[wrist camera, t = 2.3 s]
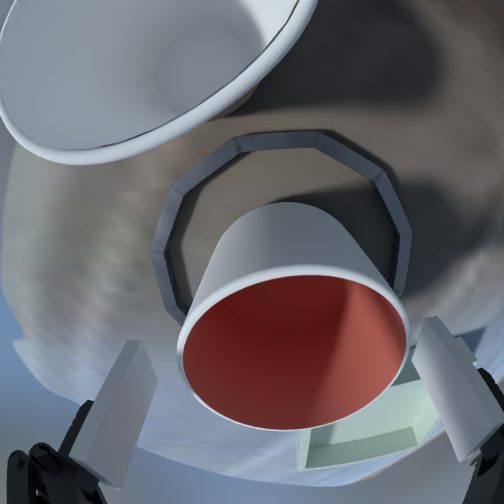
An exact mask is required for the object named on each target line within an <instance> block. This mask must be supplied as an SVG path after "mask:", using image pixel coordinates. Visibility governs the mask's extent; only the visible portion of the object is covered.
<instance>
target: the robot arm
mask: <svg viewBox="0 0 504 504" xmlns="http://www.w3.org/2000/svg"><path fill="white" fill-rule="evenodd" d="M411 361H412V362H413V364H414V366H415V368H416V370H417V372H418V374H419V376H420V378H421V379H422V381H423V383H424V385H425V387H426V389H427V391H428V393H429V395H430V397H431V399H432V401H433V403H434V406H435V408H436V410H437V412H438V414H439V416H440V418H441V420H442V423H443V425H444V427H445V429H446V432H447V434H448V436H449V439H450V441H451V443H452V446H453V448H454V451H455V453H456V456H457V458H458V460H459V462H461V461H463V460H465V459H467V458H469V457H471V456H472V455H474V454H475V453H476V451H478V450H479V449H480V450H481V453H480V454H479V455H478V456H477V457H476V458H475V459H474V460H473V461H472V462H471V464H470V465H471V466H472V465H473V464H474V463H475V462H476V461H477V463H476V464H475V470H474V473H473V477H472V480H471V482H470V485H469V488H468V491H467V493H466V496H465V498H464V501H463V503H462V504H504V395H503V393H502V392H501V390H499V387H498V385H497V384H495V381H494V379H493V378H492V376H491V375H490V373H488V372H487V371H486V370H484V369H483V368H482V367H481V368H479V369H476V368H475V366H474V365H473V363H472V362H471V360H470V359H469V357H468V356H467V355H466V353H465V352H464V350H463V349H462V348H461V346H460V345H459V344H458V342H457V341H456V340H455V338H454V337H453V336H452V334H451V333H450V332H449V330H448V329H447V328H446V326H445V325H444V324H443V323H442V321H441V320H440V319H439V318H438V316H434V317H429V318H425V319H424V323H423V326H422V330H421V333H420V336H419V339H418V342H417V345H416V348H415V351H414V354H413V357H412V360H411ZM158 381H159V380H158V378H157V375H156V373H155V371H154V369H153V367H152V365H151V362H150V360H149V358H148V355H147V353H146V351H145V348H144V346H143V344H142V341H134V340H127V342H126V344H125V345H124V347H123V349H122V351H121V353H120V354H119V356H118V358H117V360H116V362H115V363H114V365H113V367H112V369H111V371H110V373H109V374H108V376H107V378H106V380H105V382H104V384H103V386H102V388H101V389H100V391H99V393H98V395H97V397H96V399H95V401H91V400H87V401H86V402H85V403H84V404H83V405H82V406H81V407H80V409H79V410H78V412H77V414H76V416H75V417H76V418H75V419H74V420H73V422H72V426H70V428H69V430H68V432H67V434H66V436H65V439H64V440H63V442H62V444H61V447H60V449H59V450H58V452H56V451H55V450H54V449H52V447H51V446H49V445H48V444H46V443H43V442H42V443H37V444H35V445H34V446H33V447H32V448H31V449H30V451H29V454H28V455H27V454H25V453H24V452H23V451H21V450H16V451H14V452H12V453H11V455H10V456H9V459H8V467H7V504H107V502H106V500H105V498H104V496H103V493H102V491H101V489H100V487H99V486H98V482H99V481H101V482H102V483H103V484H105V485H106V486H109V487H112V488H115V489H119V490H122V488H123V485H124V481H125V478H126V475H127V472H128V469H129V465H130V462H131V459H132V456H133V453H134V450H135V447H136V444H137V441H138V438H139V435H140V432H141V429H142V426H143V423H144V420H145V417H146V414H147V411H148V409H149V406H150V403H151V400H152V397H153V394H154V392H155V389H156V386H157V383H158ZM36 490H37V491H38V495H36Z"/></svg>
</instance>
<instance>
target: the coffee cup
mask: <svg viewBox="0 0 504 504" xmlns="http://www.w3.org/2000/svg"><path fill="white" fill-rule="evenodd" d="M317 2H318V0H15V2H14V3H13V5H12V7H11V9H10V11H9V13H8V16H7V18H6V20H5V23H4V26H3V28H2V31H1V34H0V115H1V117H2V119H3V122H4V123H5V125H6V127H7V129H8V130H9V132H10V133H11V134H12V135H13V137H14V138H15V139H16V140H17V141H18V142H19V143H20V144H21V145H22V146H23V147H25V148H26V149H28V150H29V151H31V152H32V153H34V154H36V155H38V156H40V157H42V158H45V159H47V160H50V161H53V162H58V163H62V164H69V165H93V164H102V163H108V162H113V161H117V160H122V159H125V158H129V157H132V156H135V155H138V154H141V153H144V152H146V151H149V150H151V149H154V148H156V147H159V146H161V145H163V144H165V143H168V142H170V141H172V140H174V139H176V138H178V137H180V136H182V135H184V134H185V133H187V132H189V131H191V130H193V129H194V128H196V127H198V126H199V125H201V124H203V123H206V122H210V121H213V120H216V119H220V118H222V117H223V116H227V115H229V114H230V113H231V112H233V111H236V110H237V109H238V108H239V107H240V106H241V105H243V104H244V103H245V102H246V101H247V100H248V99H249V98H250V97H251V95H252V94H253V93H254V92H255V90H256V88H257V87H258V85H259V83H260V81H261V80H262V79H263V78H264V77H265V76H266V75H267V74H268V73H269V72H270V71H271V70H272V69H273V68H274V67H275V66H276V65H277V64H278V63H279V62H280V61H281V60H282V58H283V57H284V56H285V55H286V54H287V53H288V52H289V50H290V49H291V48H292V46H293V45H294V44H295V43H296V41H297V40H298V38H299V37H300V35H301V34H302V32H303V31H304V29H305V28H306V26H307V24H308V22H309V21H310V19H311V17H312V15H313V12H314V10H315V8H316V5H317ZM99 146H102V147H100V148H94V147H99ZM90 148H93V149H90ZM79 149H81V150H79Z"/></svg>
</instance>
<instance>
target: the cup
mask: <svg viewBox="0 0 504 504" xmlns="http://www.w3.org/2000/svg"><path fill="white" fill-rule="evenodd" d="M410 345H411V326H410V322H409V318H408V315H407V312H406V310H405V308H404V306H403V304H402V303H401V301H400V300H399V299H398V297H397V296H396V294H395V293H394V291H393V290H392V289H391V287H390V286H389V284H388V283H387V282H386V280H385V279H384V278H383V276H382V275H381V274H380V272H379V271H378V270H377V268H376V267H375V266H374V264H373V263H372V262H371V260H370V259H369V258H368V256H367V255H366V254H365V253H364V251H363V250H362V249H361V247H360V246H359V245H358V244H357V242H356V241H355V240H354V239H353V237H352V236H351V235H350V234H349V232H348V231H347V230H346V229H345V228H344V226H343V225H342V224H341V223H340V222H339V221H338V220H336V219H335V218H334V217H333V216H331V215H330V214H328V213H326V212H325V211H323V210H321V209H318V208H316V207H313V206H310V205H307V204H302V203H295V202H280V203H274V204H268V205H265V206H261V207H259V208H256V209H254V210H252V211H250V212H248V213H246V214H244V215H243V216H242V217H240V218H239V219H237V220H236V221H235V222H234V223H233V224H232V225H231V226H230V227H229V228H228V229H227V230H226V232H225V233H224V234H223V236H222V237H221V239H220V240H219V242H218V244H217V246H216V248H215V251H214V253H213V255H212V258H211V260H210V262H209V265H208V267H207V269H206V272H205V274H204V276H203V279H202V281H201V283H200V286H199V288H198V290H197V293H196V295H195V298H194V300H193V302H192V305H191V307H190V310H189V312H188V315H187V317H186V320H185V322H184V324H183V327H182V329H181V332H180V335H179V339H178V343H177V363H178V367H179V371H180V374H181V376H182V379H183V381H184V383H185V384H186V386H187V388H188V389H189V390H190V392H191V393H192V394H193V395H194V397H195V398H196V399H197V400H198V401H199V402H200V403H202V404H203V405H204V406H205V407H207V408H208V409H209V410H211V411H212V412H214V413H215V414H217V415H219V416H221V417H223V418H225V419H227V420H229V421H232V422H234V423H237V424H240V425H243V426H247V427H251V428H256V429H261V430H270V431H298V430H306V429H313V428H318V427H322V426H326V425H329V424H332V423H335V422H338V421H341V420H343V419H345V418H348V417H350V416H352V415H354V414H356V413H358V412H359V411H361V410H363V409H364V408H366V407H368V406H369V405H370V404H372V403H373V402H374V401H376V400H377V399H378V398H379V397H380V396H381V395H383V394H384V393H385V392H386V391H387V389H388V388H389V387H390V386H391V385H392V384H393V383H394V381H395V380H396V379H397V377H398V376H399V374H400V372H401V371H402V369H403V367H404V365H405V362H406V360H407V357H408V354H409V350H410Z"/></svg>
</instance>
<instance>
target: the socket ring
mask: <svg viewBox="0 0 504 504" xmlns="http://www.w3.org/2000/svg"><path fill="white" fill-rule="evenodd" d="M310 147H313V148H315V149H317V150H319V151H321V152H322V153H324V154H326V155H328V156H330V157H332V158H333V159H335V160H337V161H339V162H341V163H342V164H344V165H346V166H348V167H349V168H351V169H353V170H354V171H356V172H358V173H359V174H361V175H363V176H364V177H366V178H368V179H369V180H370V182H371V184H372V186H373V188H374V190H375V192H376V194H377V196H378V198H379V200H380V201H381V204H382V206H383V208H384V210H385V212H386V214H387V216H388V218H389V220H390V222H391V224H392V227H393V229H394V231H395V235H394V246H393V255H392V264H391V271H390V278H389V286H390V287H391V289H392V290H393V291H394V293H395V294H396V296H397V297H398V299H400V297H401V296H402V294H403V293H402V292H404V288H405V283H406V277H407V271H408V265H409V258H410V250H411V242H412V229H411V227H410V224H409V222H408V220H407V217H406V215H405V213H404V210H403V208H402V206H401V204H400V201H399V199H398V197H397V195H396V193H395V191H394V189H393V186H392V184H391V182H390V180H389V178H388V176H387V174H386V172H385V171H384V170H383V169H382V168H380V167H378V166H377V165H375V164H374V163H372V162H371V161H369V160H367V159H366V158H364V157H363V156H361V155H359V154H358V153H356V152H354V151H353V150H351V149H349V148H348V147H346V146H344V145H342V144H341V143H339V142H337V141H335V140H334V139H332V138H330V137H328V136H326V135H324V134H323V133H321V132H317V131H299V132H279V133H265V134H253V135H243V136H235V137H233V138H231V139H230V140H229V141H227V142H226V143H224V144H223V145H222V146H220V147H219V148H218V149H216V150H215V151H214V152H212V153H211V154H210V155H208V156H207V157H206V158H204V159H203V160H202V161H200V162H199V163H198V164H197V165H195V166H194V167H193V168H192V169H190V170H189V171H188V172H186V173H185V174H184V175H183V176H182V177H180V178H179V179H178V180H177V181H175V182H174V183H173V184H172V186H171V187H170V190H169V193H168V195H167V198H166V201H165V204H164V207H163V210H162V213H161V216H160V219H159V222H158V225H157V228H156V232H155V235H154V238H153V241H152V245H151V248H150V250H151V251H150V254H151V258H152V262H153V266H154V270H155V273H156V277H157V281H158V285H159V288H160V292H161V295H162V299H163V302H164V306H165V309H167V311H168V312H169V313H170V315H171V316H172V317H173V318H174V319H175V320H176V321H177V322H178V323H179V324H180V325H181V326H182V327H183V324H184V322H185V320H186V317H187V315H188V312H189V310H190V309H189V308H188V307H187V306H186V305H185V304H184V303H183V302H182V301H181V300H180V297H179V293H178V289H177V285H176V281H175V276H174V272H173V268H172V264H171V259H170V255H169V250H168V246H169V243H170V240H171V237H172V234H173V231H174V228H175V226H176V223H177V220H178V217H179V214H180V212H181V209H182V206H183V204H184V201H185V198H186V196H187V193H188V191H190V190H191V189H192V188H193V187H195V186H196V185H197V184H199V183H200V182H201V181H202V180H204V179H205V178H206V177H208V176H209V175H210V174H212V173H213V172H214V171H216V170H217V169H218V168H220V167H221V166H223V165H224V164H225V163H227V162H228V161H229V160H231V159H232V158H234V157H235V156H236V155H238V154H239V153H241V152H248V151H259V150H272V149H288V148H310Z"/></svg>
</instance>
